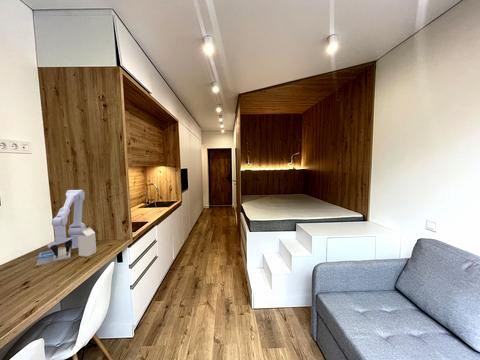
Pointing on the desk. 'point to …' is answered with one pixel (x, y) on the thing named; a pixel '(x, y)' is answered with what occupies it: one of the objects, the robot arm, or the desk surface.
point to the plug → (62, 252)
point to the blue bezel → (45, 255)
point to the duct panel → (52, 258)
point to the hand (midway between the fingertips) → (62, 253)
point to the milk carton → (87, 242)
